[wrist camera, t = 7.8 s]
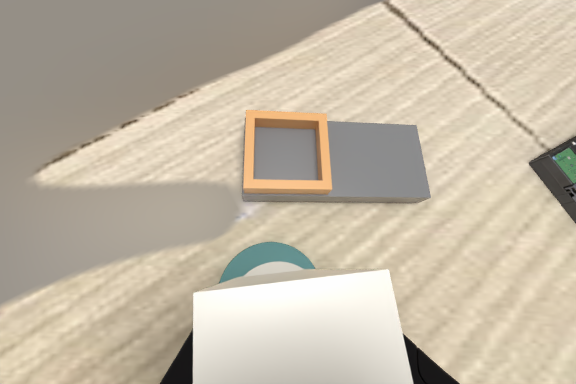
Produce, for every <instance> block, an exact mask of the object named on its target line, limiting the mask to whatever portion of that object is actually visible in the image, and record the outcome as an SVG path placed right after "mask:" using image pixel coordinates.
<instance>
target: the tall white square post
mask: <svg viewBox="0 0 576 384" xmlns="http://www.w3.org/2000/svg"><path fill="white" fill-rule="evenodd" d="M193 384H413V379H412V375H411V370H410V365H409V361H408V356H407V352H406V347H405V342H404V338H403V333H402V329H401V324H400V319H399V315H398V310H397V305H396V301H395V296H394V292H393V287H392V282H391V278H390V273H389V269H303V268H301V267H299V266H297V265H294V264H292V263H288V262H280V261H278V262H269V263H265V264H262V265H259V266H257V267H255V268H253V269H252V270H250V271H249V272H248V273H247V274H245V275H244V276H242V277H237V278H234V279H231V280H228V281H225V282H222V283H220V284H217V285H214V286H211V287H208V288H205V289H202V290H200V291H197V292H194V293H193Z"/></svg>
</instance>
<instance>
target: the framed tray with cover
mask: <svg viewBox="0 0 576 384" xmlns="http://www.w3.org/2000/svg"><path fill="white" fill-rule="evenodd" d="M242 197H243V201H263V202H378V203H419V202H421V201H424V200H426V199H429V198H431V196H430V191H429V186H428V181H427V176H426V171H425V166H424V161H423V156H422V151H421V146H420V141H419V136H418V131H417V126H416V125H399V124H377V123H355V122H333V121H327V114H319V113H298V112H278V111H257V110H246V118H245V131H244V158H243V184H242Z"/></svg>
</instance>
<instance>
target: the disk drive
mask: <svg viewBox="0 0 576 384" xmlns="http://www.w3.org/2000/svg"><path fill="white" fill-rule="evenodd" d="M529 165H530V166H531V167H532V168H533V170H534V171H535V172H536V173H537V174H538V176H539V177H540V179H541V180H542V181H543V182H544V184H545V185H546V186H547V188H548V189H549V190H550V191H551V193H552V194H553V195H554V196H555V197H556V199H557V200H558V201H559V202H560V204H561V205H562V207H563V208H564V209H565V210H566V212H567V213H568V214H569V215H570V217H571V218H572V219H573V220H574V222H575V223H576V136H575V137H573V138H572V139H570V140H568V141H566V142H564V143H563V144H561V145H559V146H557V147H556V148H554V149H552V150H550V151H548V152H546V153H544V154H542V155H540V156H539V157H538V158H536V159H534V160H532V161H531V162H529Z"/></svg>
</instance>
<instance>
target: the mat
mask: <svg viewBox="0 0 576 384" xmlns="http://www.w3.org/2000/svg"><path fill="white" fill-rule="evenodd" d="M278 261H280V262H288V263H292V264H294V265H297V266H299V267H301V268H303V269H315V268H314V266H313V264H312V263H311V262H310V260H309V259H308V258H307V257H306V256H305V255H304V254H303V253H301V252H300V251H299V250H297V249H295V248H294V247H291V246H289V245H286V244H283V243H277V242H265V243H260V244H256V245H253V246H251V247H249V248H247V249H245V250H243V251H242V252H241V253H239V254H238V255H237V256H236V257H235V258H234V259H233V260H232V261H231V262H230V263H229V265H228V266H227V268H226V269H225V271H224V273H223V275H222V277H221V279H220V282H219V284H220V283H222V282H225V281H228V280H231V279H234V278H237V277H242V276H244V275H245V274H247V273H248V272H249V271H250V270H252V269H253V268H255V267H257V266H259V265H262V264H265V263H269V262H278Z"/></svg>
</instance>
